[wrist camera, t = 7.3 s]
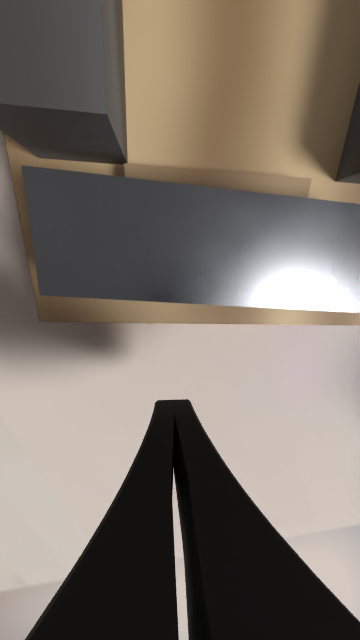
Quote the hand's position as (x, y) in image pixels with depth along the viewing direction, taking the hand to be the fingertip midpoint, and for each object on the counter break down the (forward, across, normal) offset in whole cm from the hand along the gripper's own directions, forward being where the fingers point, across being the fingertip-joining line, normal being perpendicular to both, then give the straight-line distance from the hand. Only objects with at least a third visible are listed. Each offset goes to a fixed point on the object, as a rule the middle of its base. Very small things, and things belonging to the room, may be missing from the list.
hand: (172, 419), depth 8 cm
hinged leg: (+2, -2, -6) cm, 7 cm away
